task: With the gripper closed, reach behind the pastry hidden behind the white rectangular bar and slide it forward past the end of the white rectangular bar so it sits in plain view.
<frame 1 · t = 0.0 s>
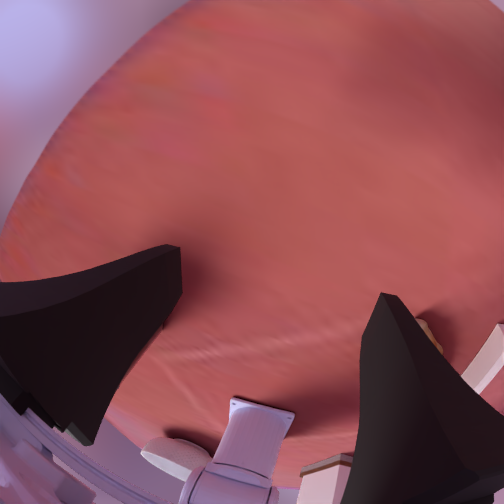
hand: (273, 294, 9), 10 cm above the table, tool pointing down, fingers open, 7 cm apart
white rectangular bar: (466, 374, 20), on the table
display case: (345, 467, 35), on the table
cereal bowl: (191, 446, 45), on the table
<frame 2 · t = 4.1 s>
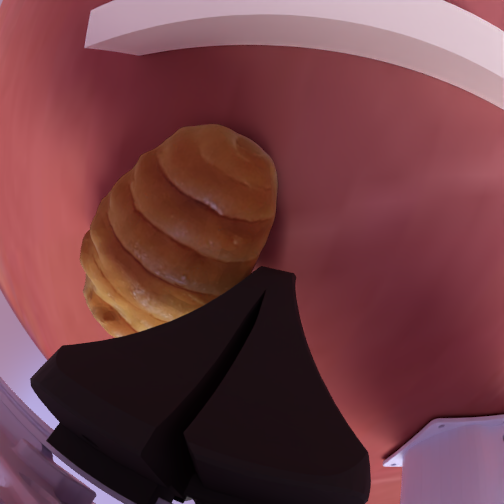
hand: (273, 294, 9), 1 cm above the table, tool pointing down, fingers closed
white rectangular bar: (325, 30, 6), on the table
pastry: (180, 236, 12), on the table, touching gripper
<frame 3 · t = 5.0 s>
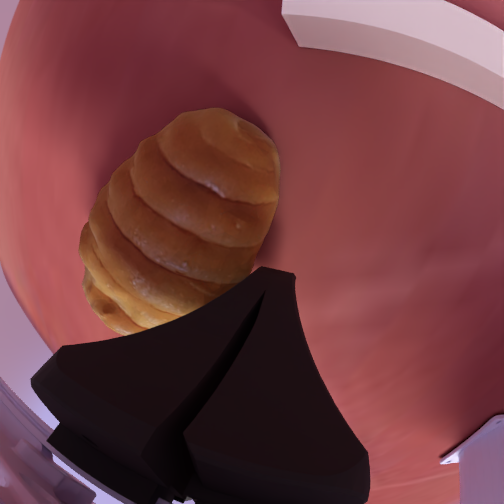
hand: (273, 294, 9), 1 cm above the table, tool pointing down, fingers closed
white rectangular bar: (493, 85, 5), on the table
pastry: (181, 227, 11), on the table, touching gripper
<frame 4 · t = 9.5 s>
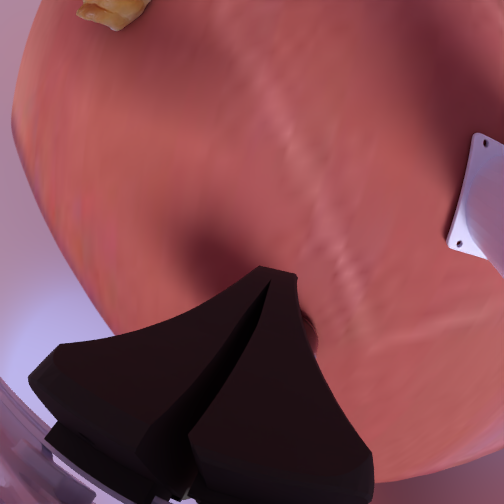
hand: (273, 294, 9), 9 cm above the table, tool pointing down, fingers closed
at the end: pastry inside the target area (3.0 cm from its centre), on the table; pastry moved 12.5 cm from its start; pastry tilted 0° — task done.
